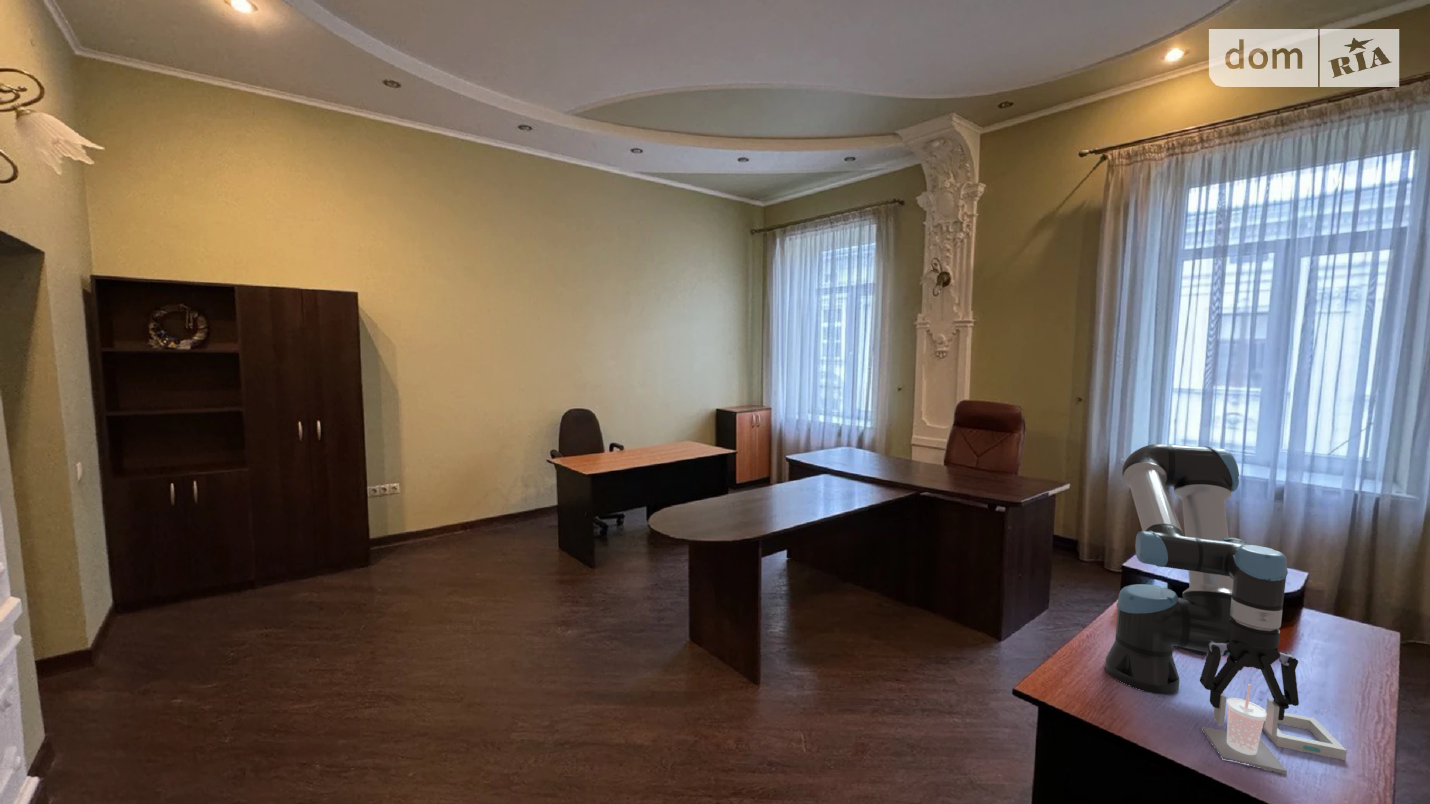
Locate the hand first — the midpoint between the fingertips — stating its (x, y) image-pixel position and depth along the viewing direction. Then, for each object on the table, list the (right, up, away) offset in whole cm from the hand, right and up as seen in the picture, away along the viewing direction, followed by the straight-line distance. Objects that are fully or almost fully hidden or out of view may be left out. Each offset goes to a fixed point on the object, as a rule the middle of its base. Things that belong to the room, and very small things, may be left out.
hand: (1244, 726), depth 116 cm
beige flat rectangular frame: (+17, -5, +7) cm, 19 cm away
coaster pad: (0, -5, +1) cm, 5 cm away
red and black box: (+25, -2, +45) cm, 52 cm away
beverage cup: (0, -5, +1) cm, 5 cm away
